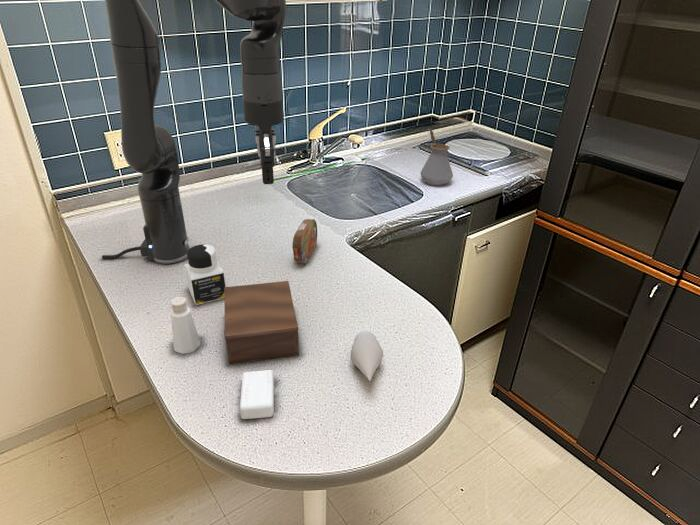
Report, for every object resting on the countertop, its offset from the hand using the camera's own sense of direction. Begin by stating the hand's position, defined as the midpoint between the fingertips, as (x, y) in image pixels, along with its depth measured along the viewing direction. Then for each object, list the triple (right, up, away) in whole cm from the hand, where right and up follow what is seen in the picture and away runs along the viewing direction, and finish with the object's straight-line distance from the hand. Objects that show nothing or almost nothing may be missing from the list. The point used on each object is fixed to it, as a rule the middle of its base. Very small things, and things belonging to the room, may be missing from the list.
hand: (268, 182), depth 102 cm
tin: (+5, -15, +29) cm, 33 cm away
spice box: (-1, -31, 0) cm, 31 cm away
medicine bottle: (-16, -24, +12) cm, 31 cm away
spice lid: (-1, -26, -4) cm, 26 cm away
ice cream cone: (+20, -37, -8) cm, 43 cm away
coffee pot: (+47, +15, +79) cm, 93 cm away
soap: (+1, -41, -15) cm, 43 cm away
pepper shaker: (-16, -33, -3) cm, 37 cm away
